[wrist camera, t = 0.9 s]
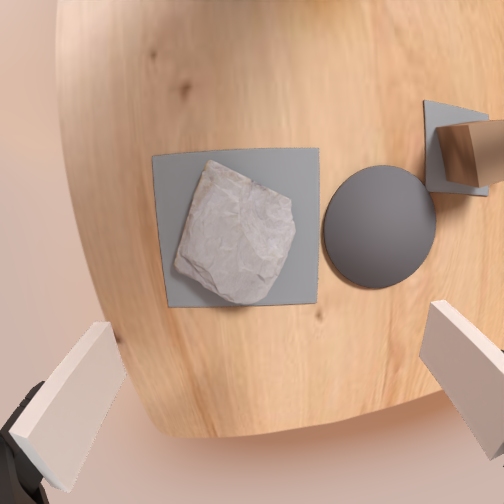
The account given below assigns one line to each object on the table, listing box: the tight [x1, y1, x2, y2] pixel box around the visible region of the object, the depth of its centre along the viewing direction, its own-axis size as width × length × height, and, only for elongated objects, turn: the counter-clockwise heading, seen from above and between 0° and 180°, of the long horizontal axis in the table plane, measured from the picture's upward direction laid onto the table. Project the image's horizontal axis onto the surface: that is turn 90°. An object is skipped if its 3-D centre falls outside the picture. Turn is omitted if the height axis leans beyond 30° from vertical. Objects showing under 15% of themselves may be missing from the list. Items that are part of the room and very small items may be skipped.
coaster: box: [324, 165, 436, 288], centre depth 30 cm, size 13×13×1 cm
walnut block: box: [436, 120, 504, 188], centre depth 25 cm, size 6×6×6 cm
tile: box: [424, 100, 489, 196], centre depth 28 cm, size 10×10×1 cm
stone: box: [174, 160, 296, 304], centre depth 29 cm, size 10×12×4 cm
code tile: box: [152, 148, 320, 307], centre depth 31 cm, size 16×16×1 cm
